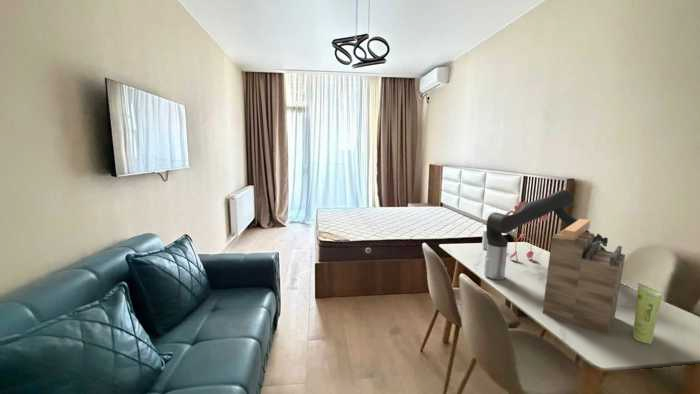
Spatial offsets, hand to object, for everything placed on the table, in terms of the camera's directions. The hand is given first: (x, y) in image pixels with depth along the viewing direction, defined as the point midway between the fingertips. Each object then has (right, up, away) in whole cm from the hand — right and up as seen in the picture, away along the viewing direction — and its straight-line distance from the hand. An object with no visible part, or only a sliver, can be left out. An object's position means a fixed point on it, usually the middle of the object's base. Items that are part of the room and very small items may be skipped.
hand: (585, 233), depth 135 cm
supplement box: (-15, -17, +64) cm, 67 cm away
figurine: (-5, -21, +46) cm, 50 cm away
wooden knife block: (-14, -31, -14) cm, 37 cm away
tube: (-3, -34, -29) cm, 45 cm away
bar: (-14, +2, -13) cm, 19 cm away
